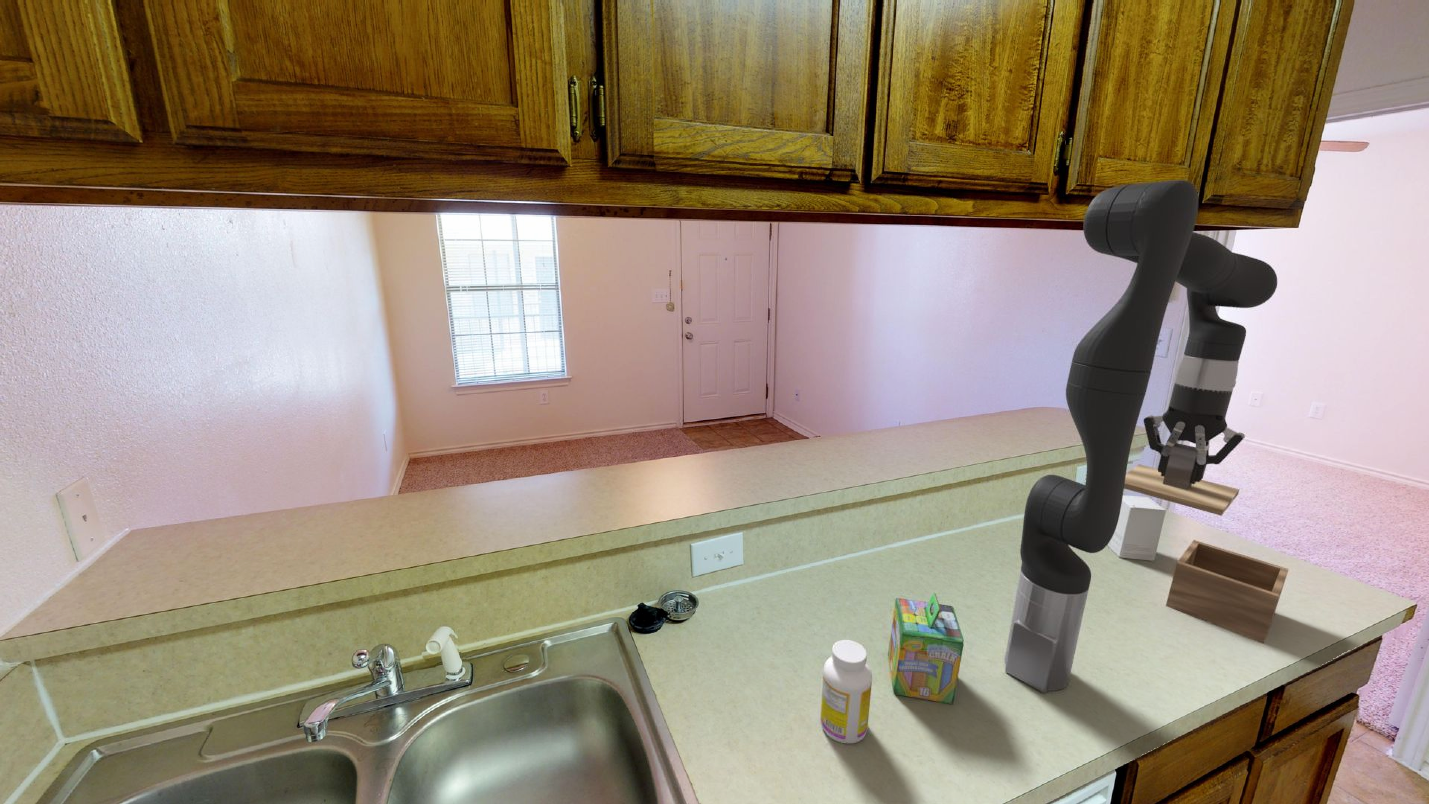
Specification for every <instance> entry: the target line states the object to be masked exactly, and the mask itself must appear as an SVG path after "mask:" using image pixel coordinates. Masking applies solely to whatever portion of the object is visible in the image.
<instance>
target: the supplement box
mask: <svg viewBox="0 0 1429 804" xmlns="http://www.w3.org/2000/svg"><path fill="white" fill-rule="evenodd" d="M1166 512H1167V509H1165V508H1164V507H1162V506H1161V505H1159V504H1158V503H1157V502H1156V501H1154V500H1153V499H1151V498H1150V496H1140V495H1139V496H1138V495H1137V496H1136V495H1126V494H1125V495H1124V494H1123V498H1122V504H1121V510H1120V515H1119V519H1118V523H1117V527H1116V530H1115V532H1114V535H1113V537H1112V539H1111V540H1110V542H1109V543H1108V545H1107V547H1109V549H1110V550H1111V551H1112V552H1114V553H1115V555H1116V556H1117V557H1118V558H1122V559H1131V560H1138V561H1139V560H1141V561H1147V562H1148V561H1149V562H1152V561H1153V562H1154V561H1155V558H1156V554H1157V550H1158V546H1159V541H1160V539H1161V538H1160V537H1161V534H1162V530H1163V525H1164V522H1165V521H1164V520H1165V516H1166Z"/></svg>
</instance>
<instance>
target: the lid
mask: <svg viewBox="0 0 1429 804" xmlns="http://www.w3.org/2000/svg"><path fill="white" fill-rule="evenodd" d="M1197 453H1198V452H1197V451H1196V446H1193V445H1188V444H1184V443H1183V444H1182V443H1180V442H1179V443H1178V444H1176V445H1175V446H1172V449H1171V453H1170V457H1169V461H1168V465H1167V469H1166V472H1165V476H1164V477H1163V476H1161V473H1160V472H1158V468H1156V467H1151V466H1147V465H1143V464H1138V465H1136V466H1135V467H1133V468H1132V469H1131V470H1129V471H1126V477H1125V484H1124V490H1128V491H1132V492H1135V493H1138V494H1143V495H1146V496H1148V497H1154V498H1156V499H1160V500H1164V501H1167V502H1171V503H1175V504H1177V505H1181V506H1185V507H1188V508H1192V509H1195V510H1200V511H1202V512H1205V513H1210V514H1213V515H1217V516H1221V517H1222V516H1223V514H1224V513H1226V511H1227V509H1229V507H1230V506H1231V504H1232V503H1233V501H1234V500H1236V499H1237V496H1238V495H1239V492H1240V489H1239V488H1236V487H1232V486H1227V485H1224V484H1220V483H1217V482H1216V483H1215V482H1212V481H1207V480H1203V479H1202V480H1201V481H1200V482H1196V483H1195V484H1190V479H1191V475H1192V472H1193V468H1194V464H1195V463H1196V461H1197Z"/></svg>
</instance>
